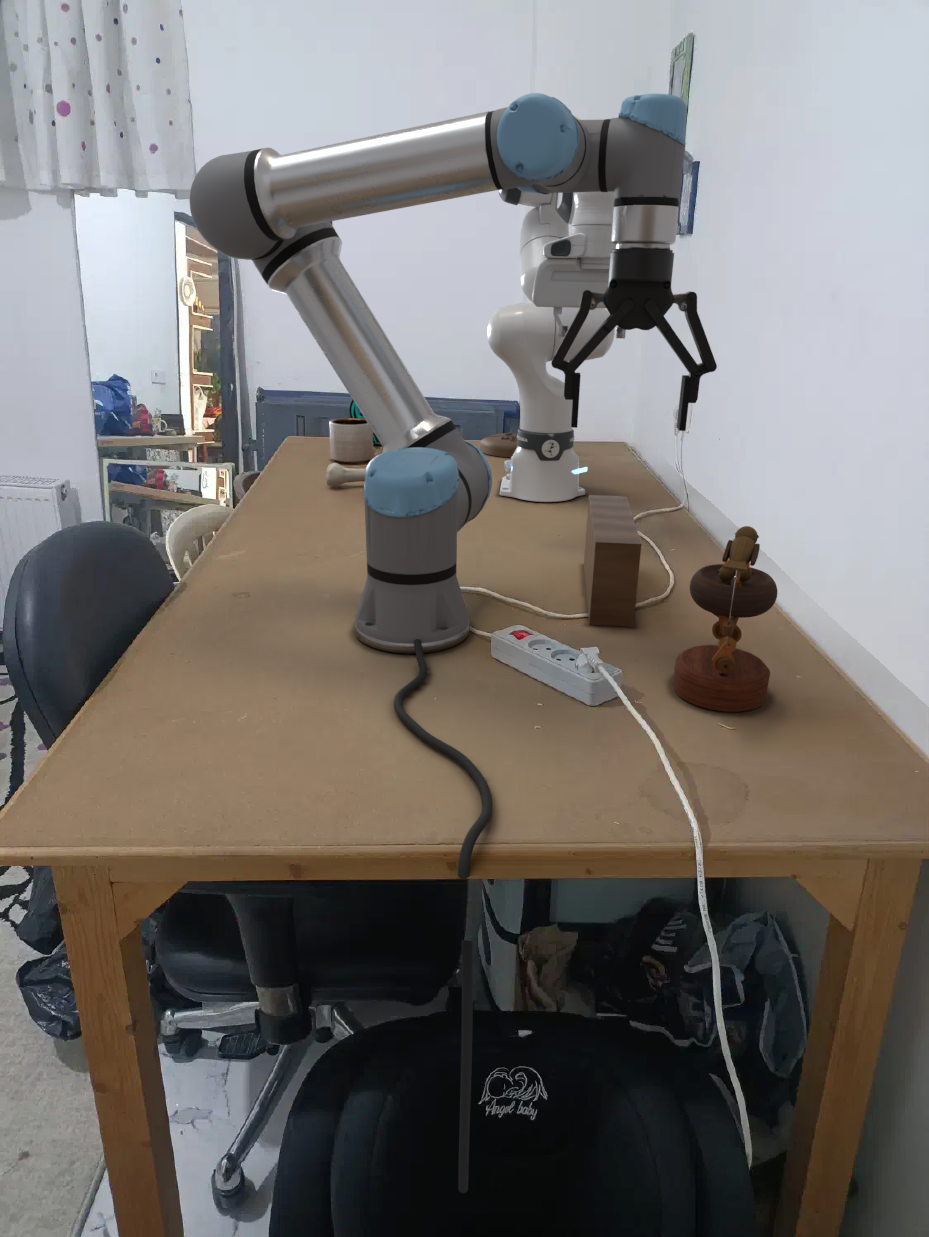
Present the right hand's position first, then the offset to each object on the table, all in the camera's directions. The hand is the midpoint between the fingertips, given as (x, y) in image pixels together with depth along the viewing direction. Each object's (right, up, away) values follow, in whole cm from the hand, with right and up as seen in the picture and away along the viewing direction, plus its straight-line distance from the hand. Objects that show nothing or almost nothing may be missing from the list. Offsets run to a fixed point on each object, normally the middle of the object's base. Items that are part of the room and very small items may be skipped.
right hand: (591, 337), depth 140 cm
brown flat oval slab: (-6, -4, +82) cm, 82 cm away
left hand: (0, -22, -31) cm, 38 cm away
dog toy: (-42, -17, +49) cm, 66 cm away
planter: (-50, -7, +74) cm, 89 cm away
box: (0, -43, -12) cm, 45 cm away
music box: (+9, -55, -41) cm, 69 cm away
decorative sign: (-48, +1, +93) cm, 104 cm away
